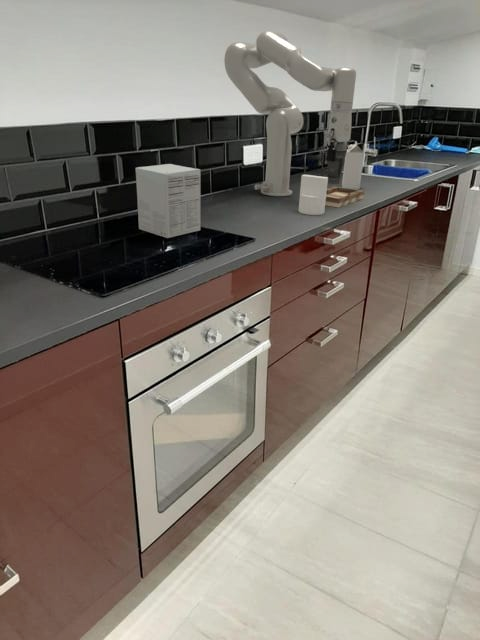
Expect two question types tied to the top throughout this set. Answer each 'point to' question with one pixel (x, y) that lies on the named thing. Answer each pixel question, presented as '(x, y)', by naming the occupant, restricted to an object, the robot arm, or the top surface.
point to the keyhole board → (342, 196)
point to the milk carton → (353, 167)
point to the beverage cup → (337, 164)
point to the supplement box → (168, 199)
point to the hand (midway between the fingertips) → (335, 159)
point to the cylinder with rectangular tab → (313, 194)
